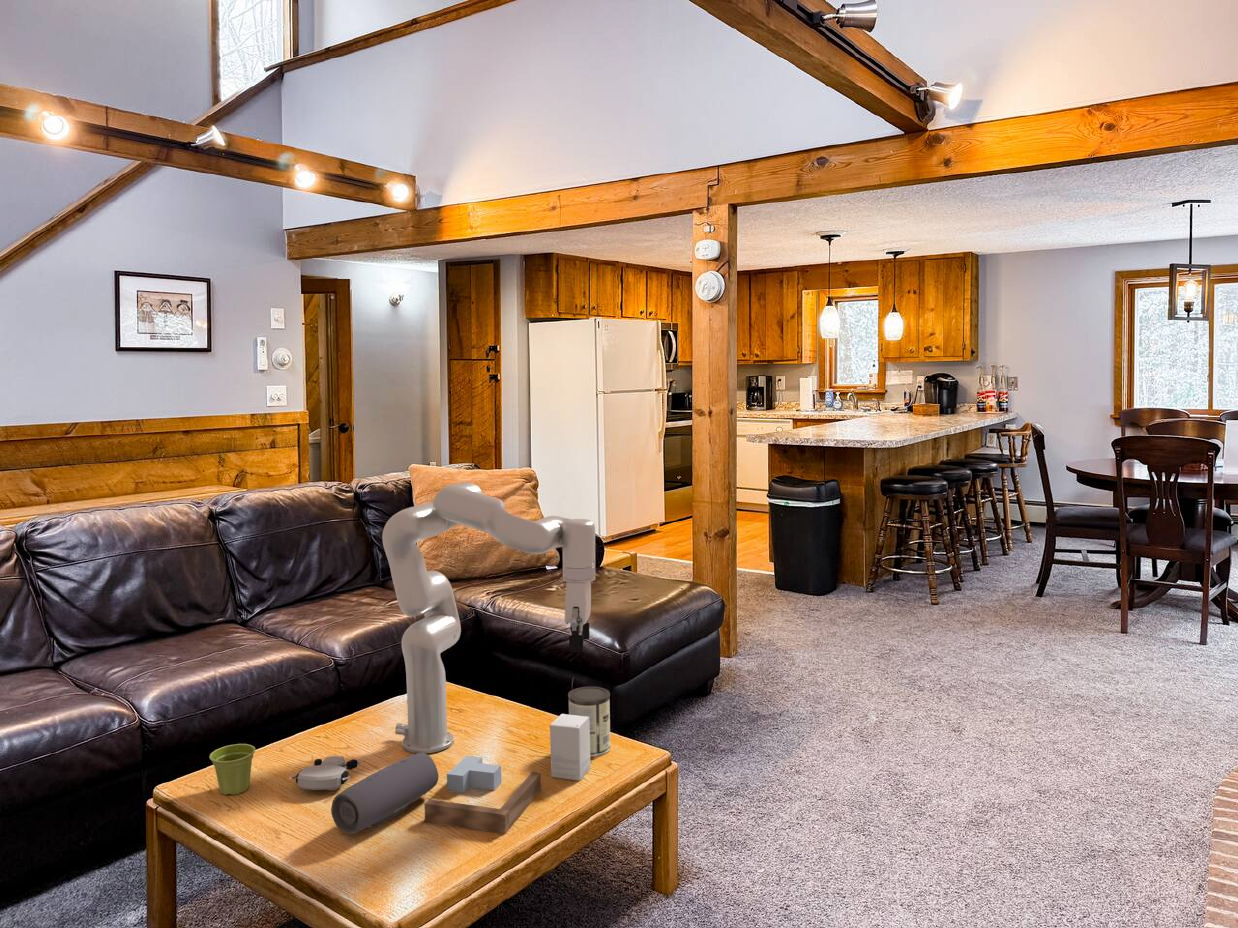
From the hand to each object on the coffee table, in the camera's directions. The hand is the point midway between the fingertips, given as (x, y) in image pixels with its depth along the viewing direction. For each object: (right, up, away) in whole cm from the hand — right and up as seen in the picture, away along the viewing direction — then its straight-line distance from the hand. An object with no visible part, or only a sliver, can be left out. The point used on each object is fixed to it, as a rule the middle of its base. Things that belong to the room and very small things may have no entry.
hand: (579, 645), depth 210 cm
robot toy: (-57, -31, -4) cm, 65 cm away
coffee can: (+2, -28, +13) cm, 31 cm away
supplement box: (-2, -30, -1) cm, 30 cm away
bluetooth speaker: (-40, -32, -20) cm, 55 cm away
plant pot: (-77, -31, -8) cm, 83 cm away
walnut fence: (-19, -31, -16) cm, 40 cm away
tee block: (-23, -30, -6) cm, 38 cm away
